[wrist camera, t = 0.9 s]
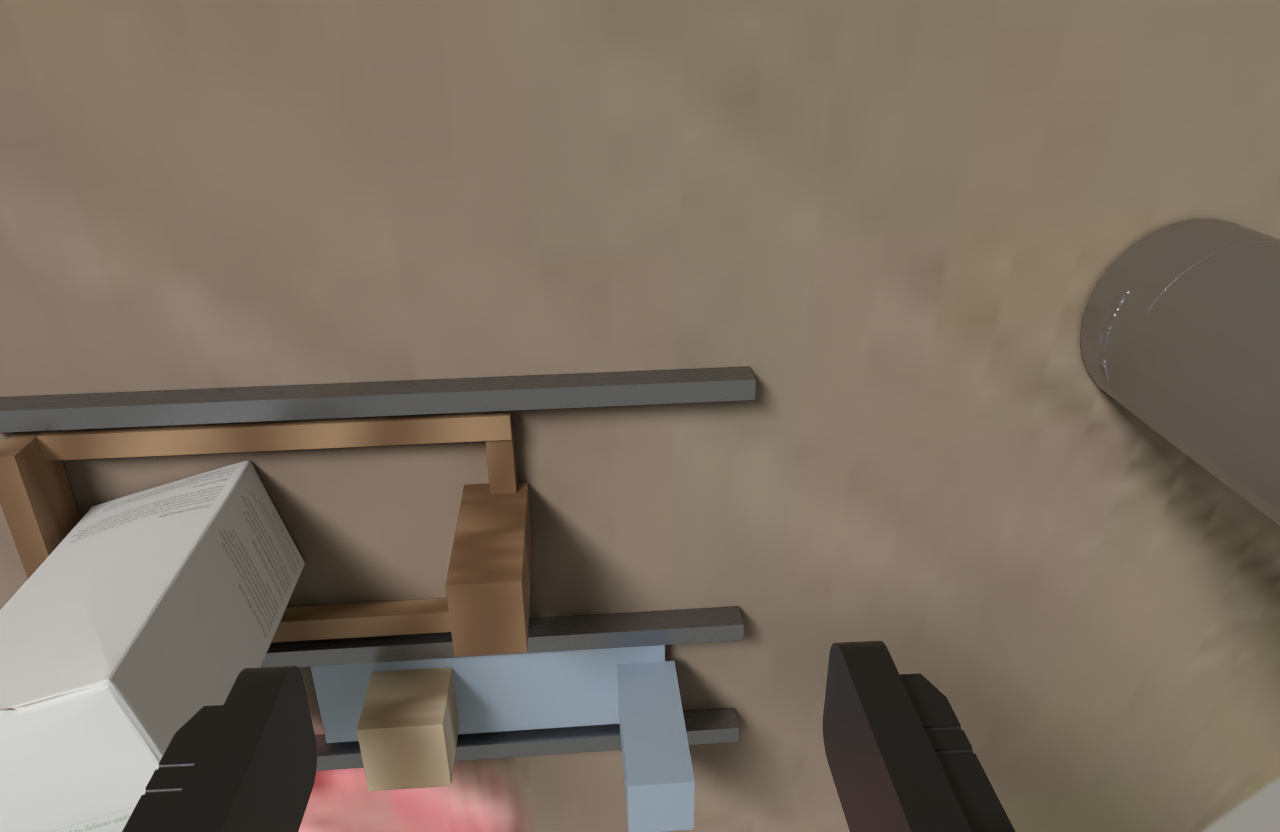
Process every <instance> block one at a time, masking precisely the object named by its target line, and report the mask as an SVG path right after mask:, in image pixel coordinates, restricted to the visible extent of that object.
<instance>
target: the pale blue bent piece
mask: <svg viewBox="0 0 1280 832" xmlns="http://www.w3.org/2000/svg"><path fill="white" fill-rule="evenodd" d="M443 667H452V674H453V682H454V690H455V698H456V706H457V713H458V721H459V730H458V734H471V733H486V732H501V731H516V730H531V729H546V728H561V727H576V726H591V725H606V724H620V734H621V747H622V759H623V771H624V784H625V796H626V808H627V821H628V832H662V831H675V830H689V829H694V792H695V780H694V774H693V768H692V762H691V757H690V751H689V745H688V739H687V733H686V727H685V721H684V715H683V709H682V703H681V697H680V691H679V685H678V679H677V673H676V668H675V662H674V661H665V645H656V646H640V647H623V648H607V649H591V650H574V651H558V652H542V653H525V654H509V655H493V656H476V657H460V658H444V659H427V660H411V661H395V662H378V663H362V664H346V665H329V666H313V667H311V672H312V677H313V681H314V686H315V691H316V695H317V700H318V705H319V709H320V714H321V719H322V723H323V728H324V733H325V737H326V742H327V743H336V742H351V741H359V740H358V734H357V727H358V723H359V719H360V716H361V712H362V708H363V705H364V701H365V697H366V693H367V690H368V686H369V682H370V679H371V675H372V672H379V671H395V670H411V669H427V668H443Z"/></svg>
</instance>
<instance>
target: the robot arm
mask: <svg viewBox="0 0 1280 832" xmlns="http://www.w3.org/2000/svg"><path fill="white" fill-rule="evenodd" d="M1080 342H1081V350H1082V358H1083V361H1084V363H1085V366H1086V368H1087V371H1088V373H1089V375H1090V376H1091V378H1092V379H1093V380H1094V382H1095V383H1096V384H1097V386H1098V387H1099V388H1100V389H1102V390H1103V391H1104V392H1106V393H1107V394H1108V395H1109V396H1111V397H1112V398H1113V399H1115V400H1116V401H1117V402H1118V403H1120V404H1121V405H1122V406H1124V407H1125V408H1126V409H1128V410H1129V411H1130V412H1131V413H1133V414H1134V415H1135V416H1137V417H1138V418H1139V419H1140V420H1142V421H1143V422H1144V423H1146V424H1147V425H1148V426H1149V427H1150V428H1151V429H1153V430H1154V431H1155V432H1157V433H1158V434H1159V435H1161V436H1162V437H1163V438H1165V439H1166V440H1167V441H1169V442H1170V443H1171V444H1172V445H1174V446H1175V447H1176V448H1178V449H1179V450H1180V451H1182V452H1183V453H1184V454H1186V455H1187V456H1188V457H1190V458H1191V459H1192V460H1193V461H1195V462H1196V463H1197V464H1199V465H1200V466H1201V467H1203V468H1204V469H1205V470H1207V471H1208V472H1209V473H1211V474H1212V475H1213V476H1214V477H1216V478H1217V479H1218V480H1220V481H1221V482H1222V483H1224V484H1225V485H1226V486H1228V487H1229V488H1230V489H1232V490H1233V491H1234V492H1235V493H1237V494H1238V495H1239V496H1241V497H1242V498H1243V499H1245V500H1246V501H1247V502H1249V503H1250V504H1251V505H1253V506H1254V507H1255V508H1256V509H1258V510H1259V511H1260V512H1262V513H1263V514H1264V515H1266V516H1267V517H1268V518H1270V519H1271V520H1272V521H1274V522H1275V523H1276V524H1277V525H1279V526H1280V240H1279V239H1276V238H1274V237H1271V236H1268V235H1265V234H1263V233H1260V232H1257V231H1254V230H1252V229H1249V228H1246V227H1243V226H1241V225H1238V224H1235V223H1232V222H1227V221H1222V220H1218V219H1192V220H1188V221H1184V222H1179V223H1175V224H1171V225H1169V226H1167V227H1164V228H1162V229H1160V230H1158V231H1155V232H1153V233H1151V234H1149V235H1148V236H1146V237H1145V238H1143V239H1142V240H1140V241H1139V242H1137V243H1135V244H1134V245H1132V246H1131V247H1130V248H1129V249H1128V250H1127V251H1125V252H1124V253H1123V254H1122V255H1121V256H1120V257H1119V258H1118V259H1117V260H1116V261H1115V262H1114V263H1113V264H1112V265H1111V266H1110V268H1109V269H1108V270H1107V272H1106V273H1105V274H1104V275H1103V277H1102V278H1101V279H1100V280H1099V282H1098V284H1097V286H1096V288H1095V290H1094V291H1093V293H1092V295H1091V297H1090V299H1089V301H1088V304H1087V307H1086V310H1085V314H1084V317H1083V320H1082V328H1081V337H1080ZM960 726H961V725H960V723H959V721H958V719H957V717H956V715H955V713H954V711H953V709H952V707H951V705H950V703H949V702H948V700H947V698H946V697H945V696H944V695H943V694H942V693H941V692H940V691H939V690H938V689H937V688H936V687H934V686H933V685H932V684H931V683H930V682H929V681H928V680H927V679H926V678H925V677H923V676H922V675H921V674H904V675H899V673H898V671H897V668H896V666H895V664H894V662H893V660H892V658H891V655H890V653H889V651H888V649H887V647H886V645H885V644H884V643H883V642H882V641H867V642H845V643H833V645H832V647H831V650H830V656H829V666H828V675H827V685H826V695H825V705H824V714H823V737H824V745H825V751H826V756H827V760H828V764H829V767H830V770H831V773H832V776H833V780H834V783H835V786H836V789H837V792H838V795H839V798H840V802H841V805H842V808H843V811H844V814H845V817H846V820H847V824H848V827H849V830H850V832H1015V830H1014V828H1013V826H1012V824H1011V822H1010V821H1009V819H1008V817H1007V815H1006V813H1005V811H1004V809H1003V807H1002V805H1001V803H1000V801H999V799H998V797H997V795H996V793H995V791H994V789H993V787H992V785H991V783H990V782H989V780H988V778H987V776H986V774H985V772H984V770H983V768H982V766H981V764H980V762H979V760H978V758H977V756H976V754H973V752H972V746H971V744H970V742H969V741H968V739H967V737H966V735H965V733H964V731H961V727H960ZM316 767H317V745H316V739H315V734H314V730H313V725H312V720H311V716H310V711H309V706H308V702H307V697H306V692H305V687H304V683H303V678H302V674H301V672H300V670H299V668H298V667H297V666H282V667H260V668H245V669H243V670H242V671H241V672H240V673H239V675H238V677H237V679H236V681H235V683H234V685H233V687H232V689H231V691H230V693H229V695H228V697H227V699H226V701H225V703H224V705H214V706H203V707H202V708H201V709H200V710H199V711H198V712H197V713H196V714H195V715H194V716H193V717H192V718H191V719H190V720H189V721H187V722H186V723H185V724H184V725H183V726H182V727H181V728H180V729H179V730H178V731H177V732H176V733H175V734H174V736H173V738H172V740H171V742H170V744H169V745H168V747H167V749H166V751H165V753H164V755H163V757H162V758H161V760H160V762H159V768H158V769H156V770H155V771H154V773H153V775H152V777H151V779H150V781H149V783H148V784H147V786H146V788H145V789H146V791H145V795H142V796H141V797H140V799H139V801H138V803H137V805H136V807H135V808H134V810H133V812H132V814H131V816H130V818H129V820H128V821H127V823H126V825H125V827H124V829H123V831H122V832H298V831H299V828H300V825H301V822H302V818H303V815H304V812H305V809H306V806H307V803H308V800H309V797H310V794H311V791H312V788H313V785H314V780H315V775H316Z"/></svg>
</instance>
